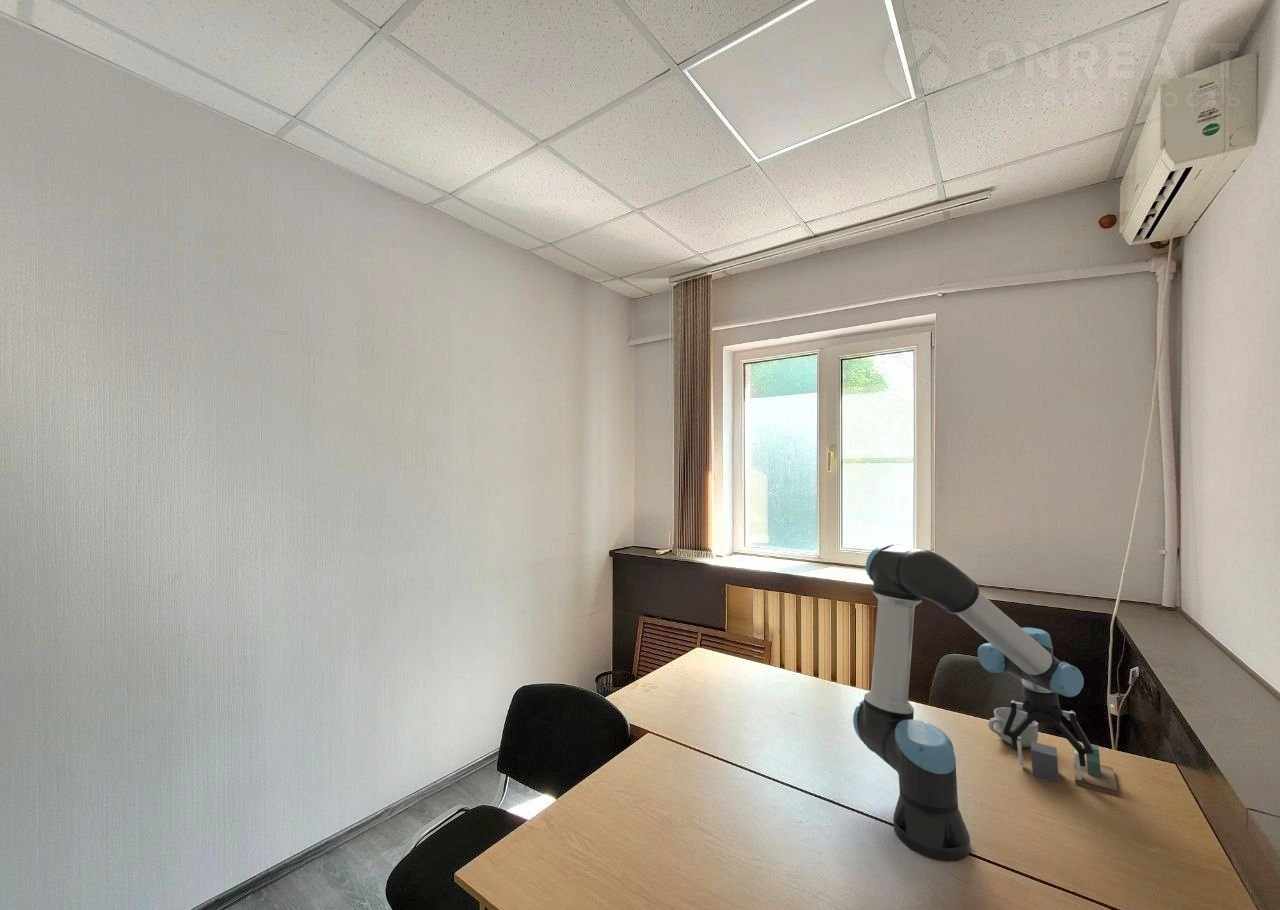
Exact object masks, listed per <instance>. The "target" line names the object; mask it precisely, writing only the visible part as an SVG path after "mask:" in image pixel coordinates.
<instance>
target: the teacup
mask: <svg viewBox="0 0 1280 910" xmlns="http://www.w3.org/2000/svg"><path fill="white" fill-rule="evenodd" d="M1010 711H1011V707H1005V706H1003V707H997V708H995V709H994V710H993V714H994V717H991V718H990V719H989V720H988V722H987V723H988V724H987V726H988V728H989V729H990V731H992V733H994V734H996V735H997V736H998V737H999V738H1001V739H1002V740H1003V741H1004V742H1005V743H1007V744H1009V745H1011V746H1012V739H1011V737H1009V736H1006V735H1004V734H1003V730H1004V726H1005V724H1006V721H1007V719H1008V716H1009V713H1010ZM1027 714H1028V713H1027V712H1026V711H1025V710H1024V711H1023V710H1021V709H1020V711H1017V712H1016V716H1015V719H1014V721H1013V724H1012V726H1011V729H1010V730H1011V731H1013V730H1014V729H1015V728H1016V727H1017V726H1018V725H1019V724H1020V723H1021V721H1022V720H1023V719H1024V718H1025V717H1026V715H1027ZM994 727H995V728H994ZM1019 737H1021V745H1022V748H1029V747H1030V748H1031V742H1036V743H1038V739H1039V723H1037V722H1036V721H1033V722H1032V723H1031V724H1029V726H1028V727H1027V728H1026V729H1025V730H1024V731H1023V732H1022V733H1021V734H1020V736H1019Z"/></svg>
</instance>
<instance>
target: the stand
mask: <svg viewBox="0 0 1280 910" xmlns="http://www.w3.org/2000/svg"><path fill="white" fill-rule="evenodd" d="M1090 744H1091V746H1092V748H1093V754H1089V753H1087V754H1085V757H1086V758H1085V763H1086V766H1085V767H1084V766H1080V769H1081V777H1082V780H1078V776H1077V768H1076V760H1075V757H1073V758H1072V759H1073V769H1074V781H1075V782H1074V783H1075V784H1074V785H1077V786H1078V785H1079V786H1083V787H1085V788H1089V789H1093V790H1097V791H1100V792H1104V793H1107V794H1112V795H1114V796H1119V793H1118V792H1119V791H1118V787H1117V782H1116V777H1115V770H1114V767H1111V766H1107V765H1103V764H1101V761H1100V760H1101V759H1100V749H1099V745H1097V744H1092V743H1090Z"/></svg>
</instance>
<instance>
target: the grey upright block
mask: <svg viewBox="0 0 1280 910" xmlns="http://www.w3.org/2000/svg"><path fill="white" fill-rule="evenodd" d="M1030 757H1031V768H1032V769H1031V771H1032V776H1034V777H1038V778H1041V779H1046V780H1048V781H1053V782H1055V783H1060V774H1059V773H1060V772H1059V760H1058V759H1059V758H1058V747H1055V746H1051V745H1047V744H1043V743H1039V742H1031V746H1030Z"/></svg>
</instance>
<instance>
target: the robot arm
mask: <svg viewBox="0 0 1280 910" xmlns="http://www.w3.org/2000/svg"><path fill="white" fill-rule="evenodd" d="M865 571H866V574H867V576H868V577H869V580H871V581H872V582H873V583H872V594H873V595H875V597H876V598H877V600H878V601H877V613H876V614H877V615H876V623H875V636H874V647H873V648H874V651H873V660H872V661H873V662H872V674H871V688H870V691H868V692H866V693H864V695H863V699H862V700H861V701H860V702H859V703H858V704H859V705H858V706H856V707H855V708H854V712H853V716H852V717H853V718H852V721H853V722H852V723H853V729H854V732H855V734H856V735H857V737H858V738H859V739H860V741H861V742H862V743H863V744H864V745H865V747H867V748H868V749H869V750H870V751H871V752H873V753H875V754H876V756H878V757H879V758H880V759H882V760H883V761H884V762H885V763H886V764H887V765H889V766H890V767H891V768H892V769H893V770H894V771H896V772H897V775H898V786H899V796H898V798H897V799H898V800H897V802H896V805H895V809H894V812H893V816H892V819H893V820H892V822H893V830H894V832H895V834H896V835H895V836H897V838H898V839H899V840H900V841H901V842H902V843H903V844H904V845H905V846H906V847H907V848H909V849H910V850H912V851H913V852H915V853H918V854H919V855H922V856H924V857H926V858H929V859H932V860H935V861H942V862H958V861H962V860H963V859H965V858H967V857H968V856H969V854H970V853H971V839H970V838H971V837H970V833H969V830H968V829H967V826H966V824H965V821H964V819H963V816H962V813H961V811H960V809H959V798H958V782H957V762H956V761H957V758H956V755H955V749H954V745H953V742H952V739H950V737H949V736H948V735H947V734H946V732H944V731H943V730H942V729H940V728H939V727H938V726H936V725H933V724H932V723H929V722H928V723H926V722H925V721H923V720H918V719H914V715H915V714H914V712H915V708H914V707H913V705H912V704H911V703H910V702H909V689H910V674H911V663H912V662H911V661H912V649H913V638H914V637H913V635H914V621H915V610H916V609H915V608H916V606H917V605H919V604H920V603H922V602H923V599H924V600H925V599H926V600H928V601H931V602H932V603H935V604H936V605H938V606H939V607H941V608H942V610H944V611H946V612H947V613H949V614H953V615H957V617H959V618H960V619H962V620H963V622H965V623H966V624H967V625H969V626H970V627H971V628H973V630H974V631H975V632H977V633H978V634H979V635H981V636H982V638H984V639H985V640H986V641H987V642H986V643H983V644H981V645H979V647H978V649H977V657H978V660H979V662H980V664H981V666H982V667H983V668H984V669H985V670H986V671H988V672H989V673H992V674H997V673H999V674H1003V673H1008V674H1010V675H1013V676H1015V677H1017V678H1020V679H1021V683H1022V685H1023V686H1022V694H1023V702H1019V701H1016V700H1015V699H1011V700H1010V708H1011V711H1010V713H1009V716H1008V719H1007V721H1006V724H1005V726H1004V730H1003V734H1004V735H1006V736H1009V737H1011V739H1012V745H1011V746H1012V749H1013V751H1015V752H1017V756H1018V765H1019V766H1022V767H1024V755H1023V749H1022V748H1023V747H1022V745H1021V737H1019V736H1020V734H1021V733H1022V732H1023V731H1024V730H1025V729H1026V728H1027V727H1028V726H1029V724H1031V723H1032V722H1033V721H1036V722H1037V723H1038V724H1045V725H1048V726H1052V725H1053V726H1054V727H1055V728H1056V729H1057V730H1058V731H1059V732H1060V733H1061V734H1062V735H1063V737H1064V738H1065V739H1066V740H1067V741H1068V742H1069V743H1070V744H1071V746H1072V747H1073V748H1074V758H1075V760H1076V768H1077V776H1078V780H1082V777H1081V769H1080V766H1084V767H1085V766H1086V763H1085V761H1086V758H1085V757H1086V754H1087V753H1089V754H1093V748H1092V746H1091V744H1092V743H1090V741H1089V739H1088V737H1087V735H1086V733H1085V732H1084V730H1083V728H1082V727H1081V725H1080V723H1079V722H1078V720H1077V714H1076V712H1075V710H1072V709H1070V710H1069V711H1067V710H1062V708H1061V705H1060V700H1059V698H1060V697H1059V695H1061V696H1064V697H1068V698H1073V697H1076V696H1077V695H1079V694H1080V693H1081V691H1082V689H1083V687H1084V683H1085V682H1084V681H1085V680H1084V676H1083V673H1082V671H1080V669H1079V668H1078V667H1076V666H1074V665H1072V664H1070V663H1068V662H1066V661H1062V660H1059V659H1058V658H1057V657H1056V656H1054V647H1053V644H1052V640H1051V639H1052V638H1051V635H1050V633H1049V632H1048V631H1045V630H1044V629H1040V628H1035V627H1021V626H1019V624H1017V623H1016V622H1015V621H1014V620H1013V619H1012V618H1010V617H1009V616H1008V614H1006V613H1004V612H1003V611H1002V610H1001V609H1000V608H999V607H997V605H995V604H994V602H992V601H991V600H990V599H988V598H987V597H986V596H984V594H982V592H981V591H980V590H981V589H980V587H979V585H978V584H977V583H976V581H974V580H973V579H972V578H971V577H969V575H967V574H966V573H965V572H963V571H962V570H961V569H960V568H959V567H957V566H956V565H955V564H954V563H952V562H951V561H949V560H948V559H946V558H945V557H943V556H941V555H940V554H938V553H936V552H934V551H931V550H929V549H923V548H915V547H911V546H906V545H903V544H898V543H897V544H896V543H894V544H893V543H892V544H891V543H886V544H885V543H884V544H881V545H878V546H877V547H875V548H874V549H872V551H871V552H870V553H869V555H868V556H867V558H866V562H865ZM1021 709H1023V710H1024V712H1026V713H1028V714H1027V715H1026V717H1025V718H1024V719H1023V720H1022V721H1021V723H1020V724H1019V725H1018V726H1017V727H1016V728H1015V729H1014V730H1013V731H1011V730H1010V729H1011V726H1012V724H1013V721H1014V719H1015V716H1016V712H1017V711H1020V710H1021ZM1062 717H1064V718H1065V719H1067V721H1070V723H1071V726H1072V727H1073V730H1074V731H1075V734H1077V736H1078V738H1079V740H1080V741H1081V743H1082V744H1081V743H1080V741H1078V739H1077V738H1075V736H1074V735H1073V734H1072V732H1070V730H1068V728H1067V727H1066V726H1065V725H1064V723H1063V722H1062V721H1061V718H1062Z"/></svg>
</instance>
